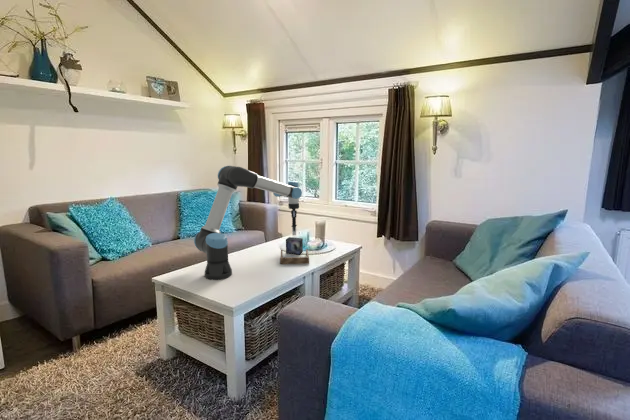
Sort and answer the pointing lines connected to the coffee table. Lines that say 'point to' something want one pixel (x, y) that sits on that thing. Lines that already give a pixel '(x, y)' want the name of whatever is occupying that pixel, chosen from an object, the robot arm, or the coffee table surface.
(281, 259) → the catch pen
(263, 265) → the coffee table surface
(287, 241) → the small box
